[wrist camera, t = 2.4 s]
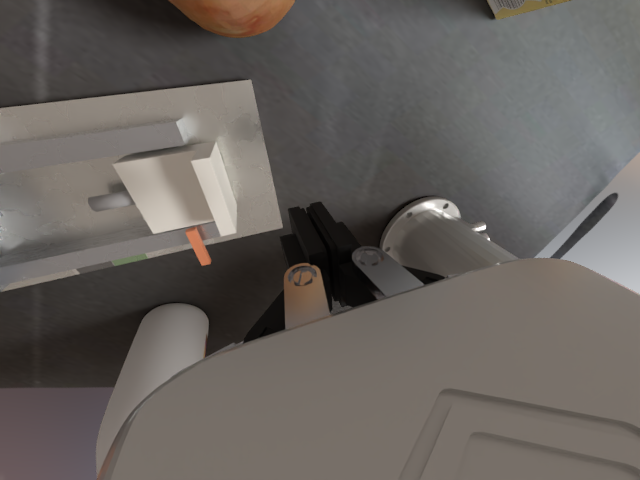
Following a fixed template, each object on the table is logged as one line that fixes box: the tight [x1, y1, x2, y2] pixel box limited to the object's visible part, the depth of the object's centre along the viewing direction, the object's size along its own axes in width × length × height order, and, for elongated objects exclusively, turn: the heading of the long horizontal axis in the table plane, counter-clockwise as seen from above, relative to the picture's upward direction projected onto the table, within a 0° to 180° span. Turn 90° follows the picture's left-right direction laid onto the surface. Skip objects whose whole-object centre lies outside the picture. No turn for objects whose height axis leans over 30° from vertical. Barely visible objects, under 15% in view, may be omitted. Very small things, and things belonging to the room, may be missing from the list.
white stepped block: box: [88, 141, 237, 266], centre depth 20 cm, size 10×10×6 cm
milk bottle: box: [96, 303, 209, 477], centre depth 23 cm, size 8×8×20 cm
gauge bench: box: [0, 80, 283, 292], centre depth 17 cm, size 28×14×10 cm, turn 96°
